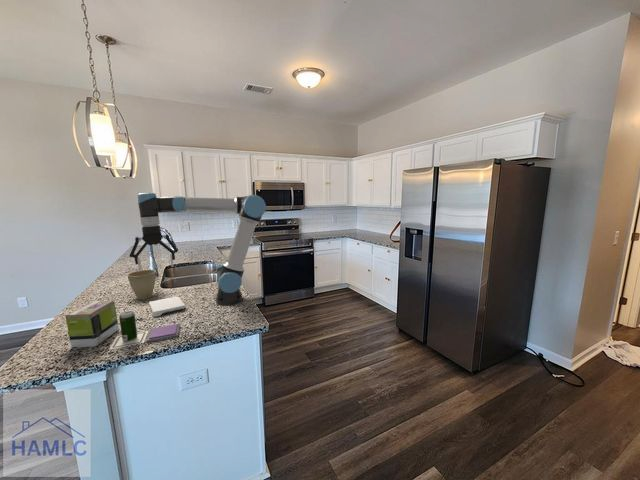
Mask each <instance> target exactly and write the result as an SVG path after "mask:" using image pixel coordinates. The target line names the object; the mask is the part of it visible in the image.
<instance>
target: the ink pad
mask: <svg viewBox="0 0 640 480" xmlns="http://www.w3.org/2000/svg"><path fill="white" fill-rule="evenodd" d="M180 327H181V323H175V324H168V325H163V326H157V327H152V328H150V330H149V331H148V334H147V336H146V339H145V341H146V343H147V342H149V343H153V341H154V342H159V341H163V340H165V341H166V340H168V339H169V340H170V339H175V338H179V334H180V329H181V328H180ZM158 340H159V341H158ZM147 344H148V343H147Z"/></svg>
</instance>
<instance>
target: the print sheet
mask: <svg viewBox="0 0 640 480" xmlns="http://www.w3.org/2000/svg"><path fill="white" fill-rule="evenodd" d="M148 335H149V330H144V331H140V332H138V331H137V339H136V340H134V341H131V342H124V341H123V340H122V334H121V335H118V336H117V335H116V337H115V339H114V341H112V344H111V345H110V347H109V349H108V351H110V350H111V351H112V350H117V349H121V348H122V347H123V348H126V346H128V347H132V346H131V345H133V346H137V345H136V344H138V343H140V344H138V345H142V344H141V343H144V344H145V341H146V340H147V337H148Z"/></svg>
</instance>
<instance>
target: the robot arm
mask: <svg viewBox="0 0 640 480" xmlns="http://www.w3.org/2000/svg"><path fill="white" fill-rule="evenodd" d="M137 205H138V211H139V216H140V223H141V224H140V225H141V226H142V227H141V230H142V236H136V237H135V238H134V239H135V240H134V244H133V246H132V249H131V251H130V253H129V258H133V259H134V263H135V265H137V266H138V271H141V270H143V267H142V261H141V257H140V254H141V253H142V252H143V251H144V249H145V248H146V247H147V245H148V246H153V245H154V246H157V245H160V246H161V247H163V248H164V249H166V250H167V251H168V252H170V253H169V258H170V266H171V268H173V267H174V261H175V260H176V255H175V254H176V253H179V252H178V251H179V249H178V248H177V247H176V244H175V243H174V242H173V241H172V240H171V238H170V235H169V234H168V233H166V234H162V229H161V226H160V224H161V223H160V216H159V215H160V214H159V213H161V214H162V213H181V212H182V213H183V212H206V213H207V212H209V213H211V212H218V213H219V212H220V213H221V212H223V213H225V212H226V213H227V212H228V213H235V214H236V215H237V214H238V217H239V219H240V220H239V223H238V226H237V230H236V232H235V235H234V239H233V242H232V245H231V247H230V251H229V255H228V257H227V260H226V261H225V262H223V263H218V264H217V265H216V275H217V293H216V296H215V303H216V304H217V305H219V306H230V305H231V306H232V305H236V304H238V303H240V302H242V300H243V299H244V298H243V293H242V291H241V286H242V284H243V283H242V282H243V281H242V280H243V279H242V278H243V275H244V272H245V268H244V267H243V265H244V263H245V260H246V256H247V254H248V250H249V249H250V248H249V247H250V244H251V241H252V238H253V235H254V231H255V229H256V226H257V225H258V224H260V223H261V220H262V217H263V216H264V214H265V213H266V209H267V205H266V202H265V200H264V199H263V198H262V197H261V196H259V195H256V194H250V195H246V196H235V197H234V198H227V197H226V198H219V197H189V196H188V197H187V196H186V197H185V196H181V195H178V196H177V195H176V196H157V193H156V192H143V193H138V194H137ZM163 238H164V240H166V241H167V243H168V244H169V245H170V246H171V247H172V248H171V247H170V246H169V245H167V244H166V243H165V242H164V241H162V239H163ZM141 241H144V243H143V245H142V246H140V248H139V250H138V251H137V252H136V250H137V248H138V245H139V243H140V242H141ZM135 252H136V253H135Z"/></svg>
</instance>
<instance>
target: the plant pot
mask: <svg viewBox="0 0 640 480" xmlns="http://www.w3.org/2000/svg"><path fill="white" fill-rule="evenodd" d="M156 274H157V271H156V270H155V269H142V270H141V271H139V270H136V271H132V272H129V273H127V275H126V276H127V278H128V279H127V280H128V282H129V285H130V287H131V289H132V292H133V293H134V295H135V297H136V298H137V299H138V300H146V299H150V298H152V297H153V293H154V290H155V286H156V285H155V284H156V278H157V277H156V276H157V275H156Z"/></svg>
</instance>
